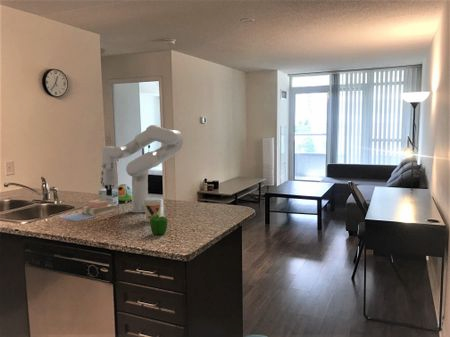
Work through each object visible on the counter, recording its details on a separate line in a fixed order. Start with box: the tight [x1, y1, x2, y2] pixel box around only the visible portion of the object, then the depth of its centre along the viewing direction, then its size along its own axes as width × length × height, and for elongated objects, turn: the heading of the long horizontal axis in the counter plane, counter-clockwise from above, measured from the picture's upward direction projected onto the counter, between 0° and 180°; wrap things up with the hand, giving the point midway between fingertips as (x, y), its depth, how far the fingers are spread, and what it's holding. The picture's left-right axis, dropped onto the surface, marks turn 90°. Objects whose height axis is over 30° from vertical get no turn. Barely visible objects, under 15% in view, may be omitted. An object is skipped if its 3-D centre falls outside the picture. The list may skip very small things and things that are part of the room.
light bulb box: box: [98, 188, 119, 207], centre depth 257 cm, size 11×7×11 cm, turn 76°
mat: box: [58, 212, 96, 222], centre depth 223 cm, size 16×13×1 cm
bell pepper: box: [149, 214, 168, 236], centre depth 187 cm, size 8×8×10 cm
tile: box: [87, 199, 108, 208], centre depth 234 cm, size 10×7×3 cm
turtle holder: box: [115, 183, 132, 204], centre depth 273 cm, size 12×18×12 cm
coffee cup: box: [144, 197, 162, 223], centre depth 214 cm, size 9×9×12 cm
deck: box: [81, 204, 115, 217], centre depth 235 cm, size 12×14×4 cm
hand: (109, 195), depth 242 cm, fingers closed
